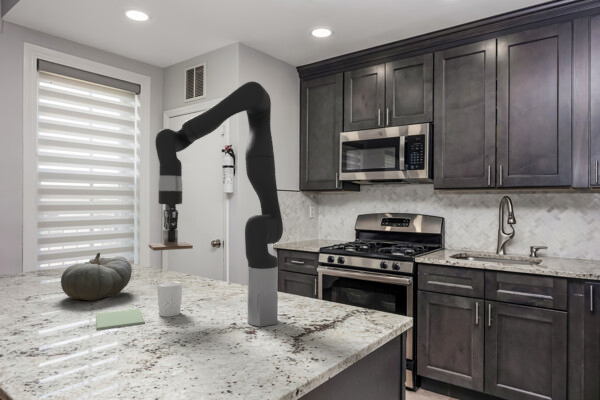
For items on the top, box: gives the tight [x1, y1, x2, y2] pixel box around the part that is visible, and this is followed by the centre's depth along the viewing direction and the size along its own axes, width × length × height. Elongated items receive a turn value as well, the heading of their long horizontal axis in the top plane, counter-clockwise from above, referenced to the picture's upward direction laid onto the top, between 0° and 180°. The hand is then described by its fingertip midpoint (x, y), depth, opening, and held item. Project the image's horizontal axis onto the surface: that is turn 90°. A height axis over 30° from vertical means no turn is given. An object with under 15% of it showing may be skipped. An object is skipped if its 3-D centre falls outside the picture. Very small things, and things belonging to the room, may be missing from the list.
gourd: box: [60, 252, 133, 302], centre depth 149 cm, size 25×25×17 cm
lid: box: [148, 228, 193, 252], centre depth 127 cm, size 12×12×6 cm
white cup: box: [156, 281, 183, 318], centre depth 126 cm, size 8×8×10 cm
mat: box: [95, 308, 146, 331], centre depth 120 cm, size 16×13×1 cm
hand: (170, 241), depth 127 cm, fingers closed on lid, 4 cm apart
